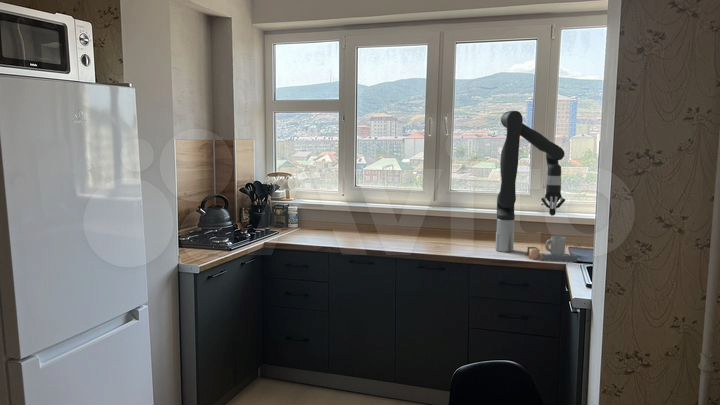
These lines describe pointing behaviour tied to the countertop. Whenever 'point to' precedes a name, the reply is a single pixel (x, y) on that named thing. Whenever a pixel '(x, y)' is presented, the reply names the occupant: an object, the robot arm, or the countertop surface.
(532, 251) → the tan rounded lump
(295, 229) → the countertop surface
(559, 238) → the cup
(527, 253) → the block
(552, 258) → the stand
